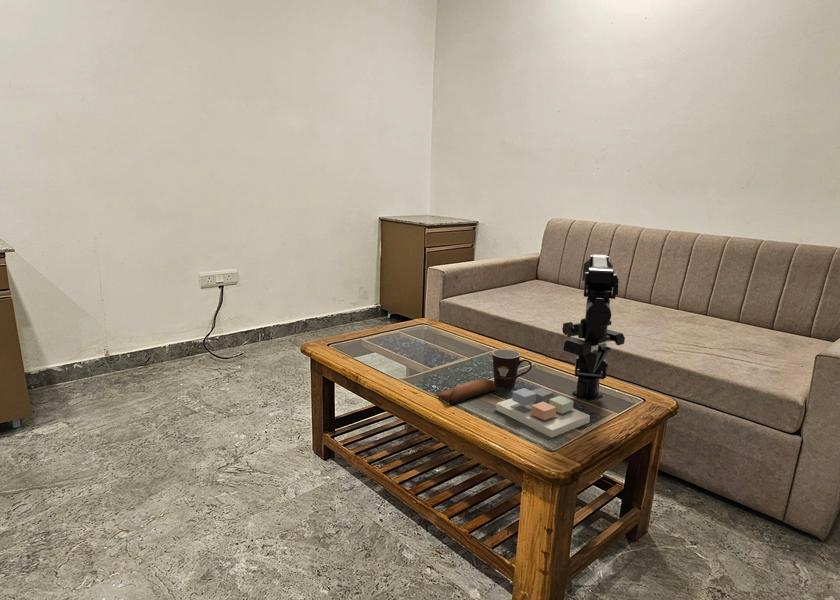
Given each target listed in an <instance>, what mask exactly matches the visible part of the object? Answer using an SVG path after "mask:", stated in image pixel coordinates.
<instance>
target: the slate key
mask: <svg viewBox="0 0 840 600" xmlns="http://www.w3.org/2000/svg"><path fill="white" fill-rule="evenodd" d="M511 395H512V396H511V397H512V400H513V401H515V402H517V403H519V404H521V405H524V406H525V405H528V404H531V403H534V402H536V393H534V392H532V390H530V389H528V388H525V387H523V388H521V389H517V390H514V391H512V394H511Z"/></svg>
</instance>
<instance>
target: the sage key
mask: <svg viewBox="0 0 840 600" xmlns="http://www.w3.org/2000/svg"><path fill="white" fill-rule="evenodd" d="M549 404H550V405H552V406H555V407H556V411H557V412H559V413H561V414H563V413H565V412H568V411H571V410H573V409H574V400H572V399H569V398H567V397H565V396H562V395H558V396H555V397H553V398H552V399H549Z"/></svg>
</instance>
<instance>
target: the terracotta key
mask: <svg viewBox="0 0 840 600" xmlns="http://www.w3.org/2000/svg"><path fill="white" fill-rule="evenodd" d="M531 414H532V415H534V416H536V417H538V418H540V419H542V420H546V419H549V418H552V417H555V416H556V407H555V406H552V405H550V404H548V403H546V402H540V403H537V404H534V405H532V408H531Z"/></svg>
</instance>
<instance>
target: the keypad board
mask: <svg viewBox="0 0 840 600" xmlns="http://www.w3.org/2000/svg"><path fill="white" fill-rule="evenodd" d="M495 404H496V405H495V406H496V407H495V411H497V412H499V413H501V414H503V415H506V416H508V417H509V418H512V419H514V420H515V421H517V422H519V423H522V424H523V425H526V426H527V427H529V428H531V429H533V430H536V431H537V432H540V433H541V434H543V435H545V436H548V437H549V438H551V439H552V438H554V437H557V436H559V435H562V434H564V433H567V432H569V431H571V430H574V429H576V428H579V427H581V426H584V425H587V424H589V423H590V421H591V419H590V417H591V415H589V414H588V413H585V412H582V411H580V410H578V409H575V408H573V410H571V411H568V412H565V413H563V414H561V413H559V412H557V411H556V416H555V417H552V418H549V419H546V420H542V419H540V418H538V417H536V416H534V415H532V414H531V408H532V405H534V404H537V402H534V403H531V404H528V405H525V406H524V405H521V404H519V403H517V402H515V401H513V400H512V398H508V399H506V400H503V401H502V400H501V401H499V402H496V403H495ZM548 404H549V402H548Z"/></svg>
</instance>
